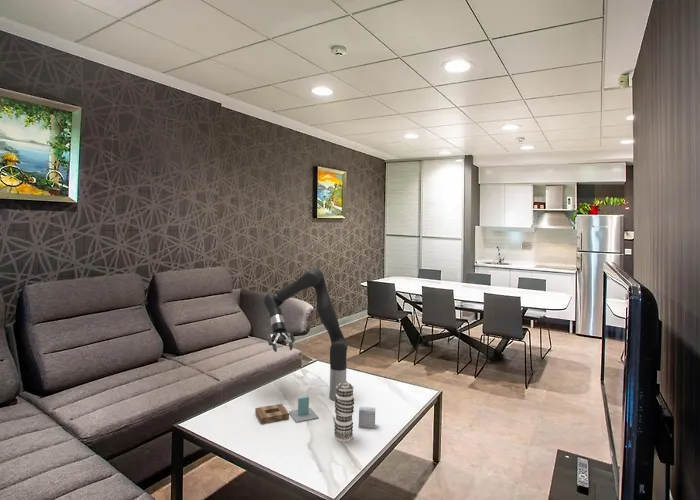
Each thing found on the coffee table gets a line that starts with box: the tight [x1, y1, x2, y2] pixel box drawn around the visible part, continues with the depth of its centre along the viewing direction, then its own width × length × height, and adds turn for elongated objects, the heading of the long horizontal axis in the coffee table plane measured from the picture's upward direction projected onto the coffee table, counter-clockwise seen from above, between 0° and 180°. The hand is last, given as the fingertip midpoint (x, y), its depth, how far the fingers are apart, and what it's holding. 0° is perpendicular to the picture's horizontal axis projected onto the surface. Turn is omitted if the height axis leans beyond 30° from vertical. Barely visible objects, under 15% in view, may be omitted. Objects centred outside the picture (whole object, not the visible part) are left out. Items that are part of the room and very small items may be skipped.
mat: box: [287, 407, 319, 424], centre depth 213 cm, size 12×12×1 cm
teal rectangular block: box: [297, 395, 310, 416], centre depth 213 cm, size 5×2×9 cm, turn 116°
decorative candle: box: [333, 381, 355, 443], centre depth 193 cm, size 9×9×25 cm
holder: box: [254, 403, 290, 425], centre depth 211 cm, size 14×12×3 cm
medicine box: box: [358, 406, 376, 429], centre depth 204 cm, size 8×4×9 cm, turn 84°
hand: (283, 350), depth 227 cm, fingers open, 8 cm apart
